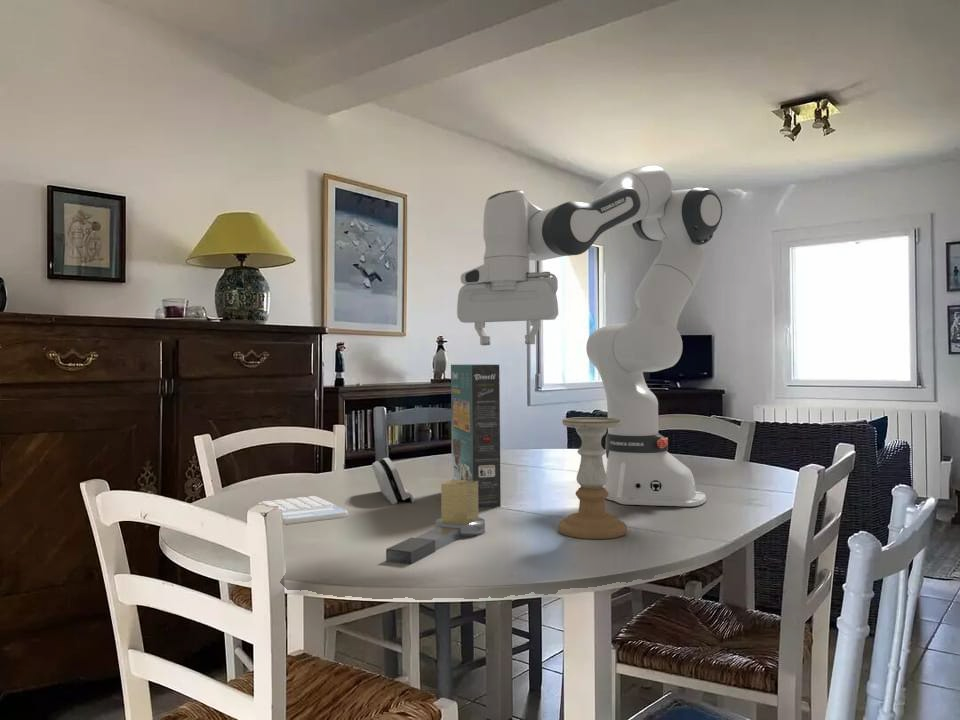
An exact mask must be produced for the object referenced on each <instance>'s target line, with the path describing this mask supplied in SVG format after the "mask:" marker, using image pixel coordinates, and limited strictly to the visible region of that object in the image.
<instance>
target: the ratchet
mask: <svg viewBox="0 0 960 720" xmlns="http://www.w3.org/2000/svg"><path fill="white" fill-rule="evenodd" d="M484 534H486V520H485V519H484V518H482V517H479V516H478V520H476V521H474V522H472V523H470V524H468V525H459V524H449V523H441V517H440V518H437V519H436V520H435V521H434V528H432V529H431V530H427V532H424V533H422V534H420V535H418V536H416V537H412V536H411V537H410V538H408V539H406V540H403V541H401V542H398V543H396V544H395V545H392V546H390V547H388V548H386V549H385V552H386V553H385V562H387V563H395V564H396V563H397V564H401V565H402V564H405V565H413V564H416V563H418V562H419V561H420V560H423V559H425V558H426V557H428V556H430V555H432V554H434V553H435V552H436V551H439V550H441V549H442V548H444V547H446V546H448V545H450V544H452V543H453V542H456V541H457V540H460V539H464V538H465V539H466V538H474V537H479V536H482V535H484Z"/></svg>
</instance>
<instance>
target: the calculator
mask: <svg viewBox="0 0 960 720" xmlns="http://www.w3.org/2000/svg"><path fill="white" fill-rule="evenodd" d="M259 504H260V505H261V504H263V505H269V506H278V507H279V508H280V509H281V510H282V516H283V524H282V525H293V524H294V525H295V524H302V523H311V522H319V521H325V520H327V521H328V520H335V519H344V518H347V517H348V516H349V512H348V510H347V509H345V508H343V507H340V506H338V505H336V504H334V503H332V502H330V501H328V500H326V499H323V498H321V497H318V496H315V495H309V496H306V497H304V496H299V497H295V498H292V497H291V498H285V499H273V500H263V501H261V502H258V503H257V506H258V505H259Z"/></svg>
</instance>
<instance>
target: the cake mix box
mask: <svg viewBox="0 0 960 720" xmlns="http://www.w3.org/2000/svg"><path fill="white" fill-rule="evenodd" d="M500 390H501V389H500V364H491V363H490V364H486V363H485V364H479V363H478V364H476V363H474V364H473V363H471V364H450V395H451V396H450V399H451V400H450V403H451V406H450V408H451V410H450V411H451V413H450V415H451V416H450V417H451V422H450V423H451V426H450V427H451V431H450V432H451V480H453V479H455V480H470V481H478V509H479V508H497V507H501V505H502V503H501V502H502V501H501V497H502V495H501V411H500V409H501V407H500V406H501V401H500V400H501V399H500V397H501V396H500V395H501V393H500Z"/></svg>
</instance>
